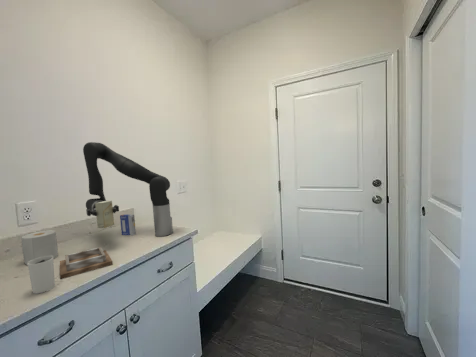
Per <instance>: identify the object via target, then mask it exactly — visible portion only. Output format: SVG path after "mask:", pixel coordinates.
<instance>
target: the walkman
mask: <svg viewBox="0 0 476 357" xmlns="http://www.w3.org/2000/svg"><path fill="white" fill-rule="evenodd" d="M119 220H120V222H119V223H120V231H121V235H122V236H134V235H137V231H136V221H135V214H120V215H119Z"/></svg>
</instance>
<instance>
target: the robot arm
mask: <svg viewBox="0 0 476 357" xmlns="http://www.w3.org/2000/svg"><path fill="white" fill-rule="evenodd" d="M82 150H83V151H82V152H83V157H84V163H85V166H86V171H87V175H88V176H87V177H88V193H89V195H93V196H98V198H96V197H95V198H90V199H87V201H86V203H85V208H86V216H87V217H88V216H89V217H91V215H92V216H94V217H96V216H97V212H96V207H95V203H98V202H102V201H107V200H106V197H105V192H104V180H103V177H102V174H101V172H100V170H99V166H98V159H100V160H103V161H105V162H108V163H109V164H111V165H112V166H113V167H114V168H115V169H116V171H117V172H119V173H121V174H122V175H124V176H126V177H128V178H131V179H134V180H137V181H141V182H144V183H146V184H148V185H149V186H148V188H149V197H150V201H151V204H152V214H153V216H152V217H153V227H154V235H155V237H167V236H169V235H172V234H174V229H173V217H172V216H171V207H170V206H171V205H170V204H171V203H170V199H169V197H168V194H167V191H168V190H169V189H170V188H171V183H170V180H169V179H168V178H167V177H166V176H163V175H161V174H158V173H156V172H153V171H151V170H150V169H148V168H146V167H144V166H143V165H141V164H140V163H138V162H135V161H134V160H132V159H130V158H129V157H126V156H124V155H122V154H120V153H117V152H116V151H114V150H113V149H111V148H110V147H108V146H107V145H106V144H104V143H101V142H93V141H91V142H87V143H85V144H84V145H83V148H82ZM112 207H113V214H116V213H117V212H120V206H119V205H118V204H115V205H113V206H112Z"/></svg>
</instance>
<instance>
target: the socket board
mask: <svg viewBox="0 0 476 357" xmlns="http://www.w3.org/2000/svg"><path fill="white" fill-rule="evenodd" d="M113 264H114V263H113V260H112V258H111V255H109V253H108V252H107V250H106V249H103V248H102V247H101V246H100V247H99V246H98V247H96V248H91V249H87V250H82V251H77V252H74V253H73V252H72V253H69V254H65V259H62V260H60V261H59V275H60V276H59V277H60V280H62V279H66V278H70V277H72V276H73V277H74V276H77V275H80V274H83V273H88V272H92V271H94V270H95V271H96V270H99V269H102V268H105V267H108V266H113Z"/></svg>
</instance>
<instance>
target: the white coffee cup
mask: <svg viewBox="0 0 476 357" xmlns="http://www.w3.org/2000/svg"><path fill="white" fill-rule="evenodd" d="M27 264H28V265H27ZM27 264H26V265H27V270H28V276H29V280H30V284H31V285H30V286H31V291H32V294H43V293H45V291H46V292H47V291H48V292H49V291H50V290H52V289H53V288H55V287H56V284H55V264H54V259H53V256H44V257H39V258H36V259H33V260H31V261H29V262H28V263H27Z"/></svg>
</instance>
